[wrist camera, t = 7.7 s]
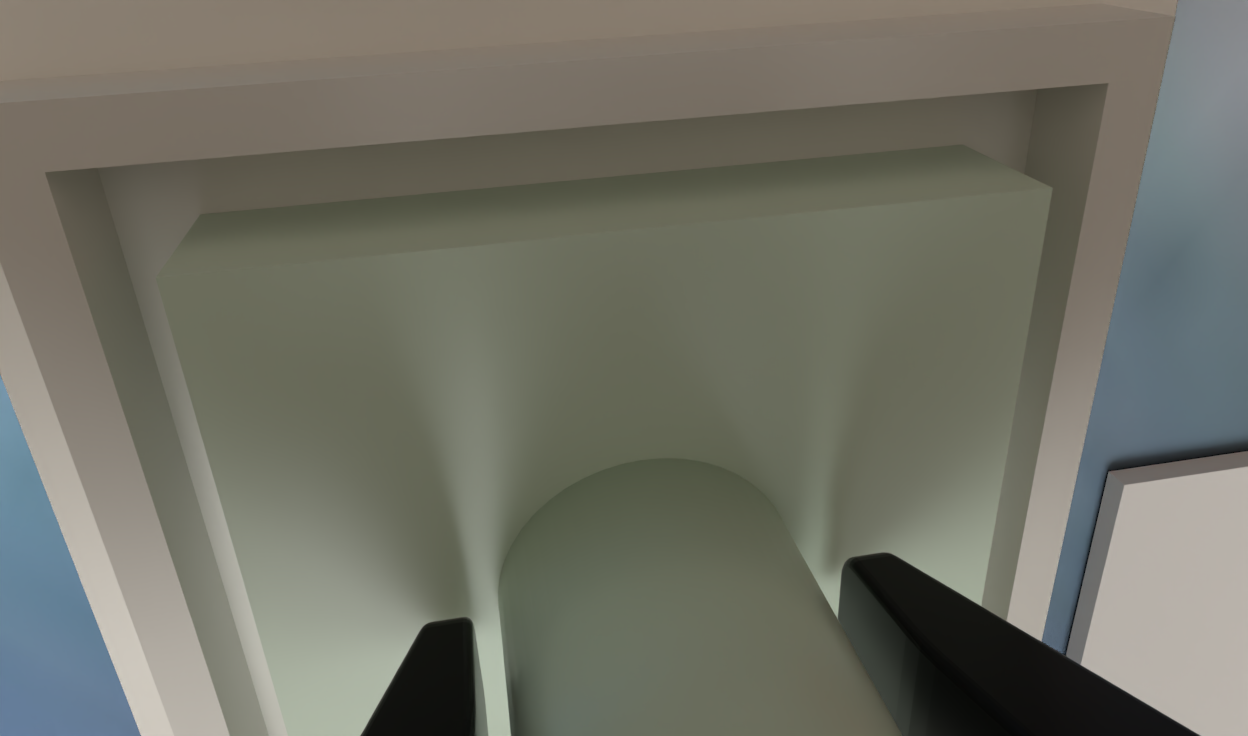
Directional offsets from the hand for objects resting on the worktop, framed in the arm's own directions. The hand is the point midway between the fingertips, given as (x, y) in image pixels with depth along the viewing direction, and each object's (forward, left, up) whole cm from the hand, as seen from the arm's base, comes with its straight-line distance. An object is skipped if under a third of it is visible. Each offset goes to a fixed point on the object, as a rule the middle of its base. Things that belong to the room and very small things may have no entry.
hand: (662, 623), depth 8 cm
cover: (0, 0, -2) cm, 2 cm away
